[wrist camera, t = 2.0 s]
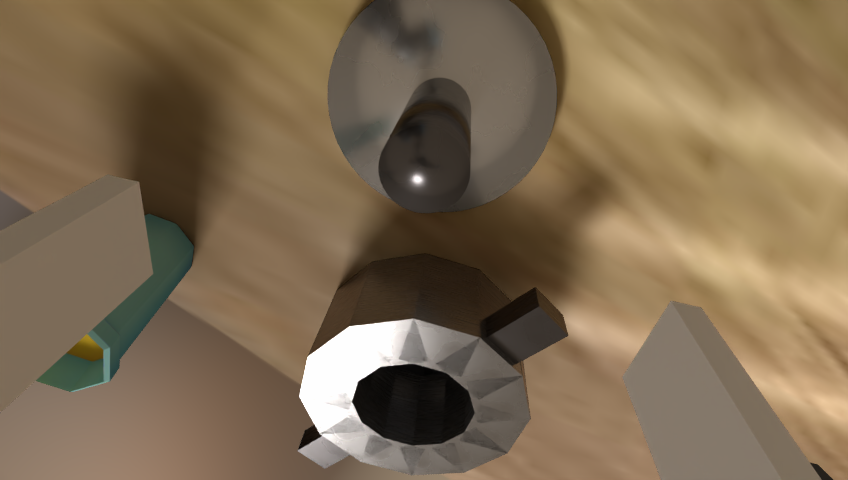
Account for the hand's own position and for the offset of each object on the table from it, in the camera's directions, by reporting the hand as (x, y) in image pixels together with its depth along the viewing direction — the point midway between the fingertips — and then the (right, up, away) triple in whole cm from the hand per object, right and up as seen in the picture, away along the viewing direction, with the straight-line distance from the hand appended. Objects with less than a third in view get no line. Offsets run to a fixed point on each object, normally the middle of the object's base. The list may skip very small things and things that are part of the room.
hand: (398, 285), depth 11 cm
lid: (+2, +9, +15) cm, 18 cm away
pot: (+1, -6, +24) cm, 25 cm away
